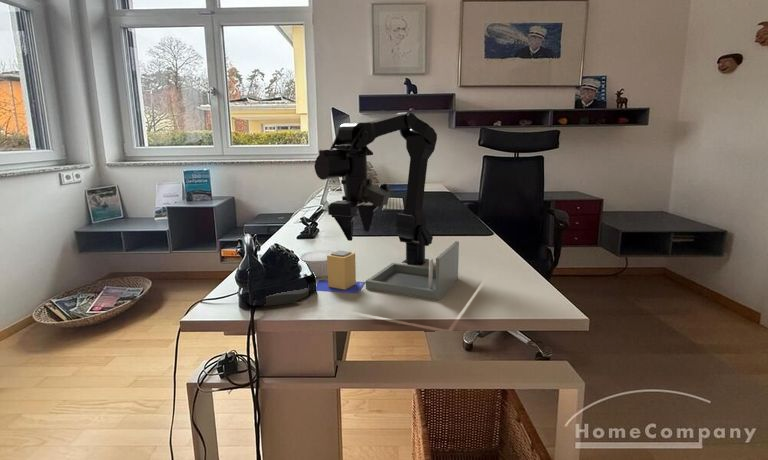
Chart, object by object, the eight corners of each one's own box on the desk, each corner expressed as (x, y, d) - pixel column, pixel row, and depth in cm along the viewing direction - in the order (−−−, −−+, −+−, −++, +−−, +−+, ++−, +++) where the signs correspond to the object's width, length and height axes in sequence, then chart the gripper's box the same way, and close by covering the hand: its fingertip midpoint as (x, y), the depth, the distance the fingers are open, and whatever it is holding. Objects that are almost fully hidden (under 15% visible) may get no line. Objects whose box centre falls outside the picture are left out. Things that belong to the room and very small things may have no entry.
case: (392, 271, 119) (392, 234, 117) (457, 280, 111) (458, 241, 109) (366, 290, 105) (365, 249, 103) (438, 302, 97) (439, 258, 95)
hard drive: (365, 281, 109) (320, 278, 112) (357, 292, 102) (309, 290, 104) (366, 286, 110) (320, 284, 112) (358, 298, 102) (309, 296, 104)
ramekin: (293, 272, 119) (292, 254, 118) (326, 264, 126) (326, 247, 125) (314, 283, 111) (313, 263, 110) (348, 273, 118) (348, 255, 117)
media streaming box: (246, 310, 96) (244, 297, 95) (247, 287, 109) (246, 276, 109) (311, 302, 99) (310, 290, 99) (304, 281, 113) (304, 271, 112)
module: (339, 280, 110) (338, 249, 108) (355, 283, 108) (355, 251, 106) (328, 286, 106) (327, 253, 104) (344, 289, 103) (344, 256, 102)
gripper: (367, 181, 93) (370, 249, 97) (400, 171, 110) (401, 229, 113) (324, 179, 98) (329, 244, 102) (362, 170, 114) (365, 226, 118)
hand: (358, 235), depth 109 cm, fingers open, 9 cm apart
